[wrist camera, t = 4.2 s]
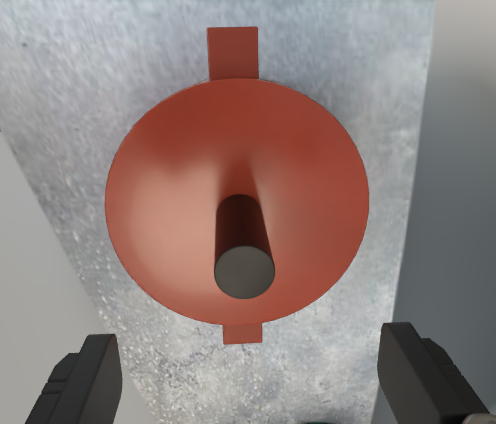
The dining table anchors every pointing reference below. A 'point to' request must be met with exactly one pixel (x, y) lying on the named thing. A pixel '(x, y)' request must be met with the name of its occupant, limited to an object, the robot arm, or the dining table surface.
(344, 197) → the lid
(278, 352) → the dining table surface
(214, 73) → the pan
